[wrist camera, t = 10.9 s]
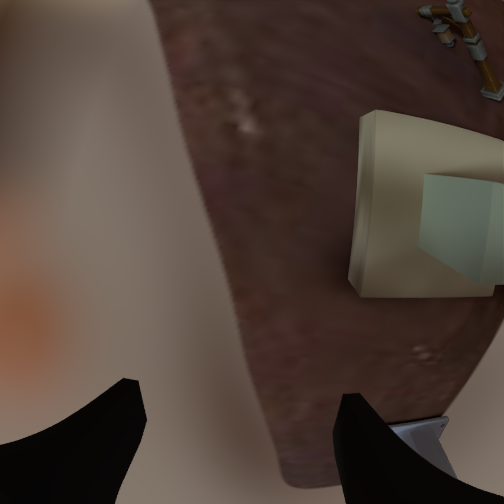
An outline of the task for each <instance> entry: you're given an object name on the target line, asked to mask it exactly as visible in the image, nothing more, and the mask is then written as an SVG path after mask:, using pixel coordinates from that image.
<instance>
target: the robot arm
mask: <svg viewBox="0 0 504 504" xmlns="http://www.w3.org/2000/svg"><path fill="white" fill-rule="evenodd" d="M448 421H449V418H448V417H447V416H443V417H438V418H433V419H427V420H422V421H416V422H410V423H403V424H396V425H387V424H386V423H385V422H384V420H383V419H382V418H381V417H380V416H379V415H378V414H377V413H376V411H375V410H374V409H373V408H372V407H371V406H370V405H369V403H368V402H367V401H366V400H365V399H364V398H363V396H362V395H361V394H360V393H352V394H343V396H342V400H341V404H340V407H339V411H338V415H337V418H336V422H335V425H334V429H333V432H332V433H333V443H334V453H335V459H336V463H337V467H338V472H339V476H340V480H341V484H342V488H343V493H344V497H345V502H346V504H504V497H503V496H500V495H496V494H493V493H490V492H487V491H484V490H481V489H478V488H476V487H473V486H471V485H469V484H466V483H464V482H462V481H460V480H458V479H457V477H456V474H455V472H454V470H453V468H452V466H451V464H450V462H449V460H448V458H447V456H446V454H445V452H444V450H443V448H442V446H441V444H440V442H439V440H438V439H439V438H440V436H441V434H442V432H443V430H444V428H445V427H446V425H447V423H448ZM146 422H147V417H146V413H145V409H144V404H143V400H142V395H141V391H140V386H139V381H137V380H132V379H126V378H123V379H121V380H120V381H118V382H117V383H116V384H114V385H113V386H112V387H110V388H109V389H108V390H106V391H105V392H104V393H102V394H101V395H100V396H98V397H97V398H96V399H94V400H93V401H91V402H90V403H89V404H87V405H86V406H84V407H83V408H81V409H80V410H78V411H77V412H75V413H73V414H72V415H70V416H69V417H67V418H66V419H64V420H62V421H61V422H59V423H57V424H55V425H53V426H51V427H49V428H47V429H45V430H43V431H41V432H38V433H36V434H33V435H31V436H28V437H25V438H23V439H20V440H17V441H14V442H10V443H6V444H2V445H0V504H115V501H116V498H117V495H118V492H119V489H120V487H121V484H122V482H123V480H124V478H125V475H126V473H127V471H128V469H129V467H130V464H131V462H132V460H133V458H134V456H135V453H136V451H137V449H138V447H139V444H140V442H141V439H142V436H143V432H144V429H145V425H146Z"/></svg>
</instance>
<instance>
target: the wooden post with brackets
mask: <svg viewBox="0 0 504 504" xmlns="http://www.w3.org/2000/svg"><path fill="white" fill-rule="evenodd" d="M447 1H448V3H447V4H446V6H434V5H426V6H422V7H421V6H419V7H418V8H417V9H416V12H417V13H418V15H419V16H426V17H432V19H433V21H434V23H433V24H436V25H435V26H436V28H435V29H434V30H433V32H436V33H437V34H438V36H439V38H440V41H441V42H442V43H446V45H447V46H448V47H453V46H454V42H453V40H454V39H455V37H454V36H453V35H452V33H451V32H450V30H449V29H448V27H449V26H450V25H444V24H442V23H440V22H441V21H442V20H438V19H437V18H436V16H439V17H442V18H444V19H446V20H448V21H449V22H451V23H453V24H454V25H456V26H458V27H459V28H460V29H461V30H462V33H463V35H464V37H463V40H464V42H467V45H466V46H467V48H468V49H469V51H470V53H471V56H472V59H475V61H476V63H477V65H478V68H479V71H480V74H481V78H482V81H483V85H484V87H483V88H482V90H481V91H480V92H481V93H482V95H483V96H484V97H488V98H492V99H496V100H499V101H500V100H501V99H502V97H503V95H504V82H501V81H500V80H499V78H498V77H497V75H496V73H495V71H494V69H493V67H492V66H491V64H490V62H489V60H488V58H487V54H488V53H487V52H486V50H485V47H484V45H483V42H482V40H480V39H479V38H480V35H479V33H476V31H475V29H474V27H473V24H472V22H471V20H470V17H471V15H472V12H471V11H470V9H469V7H466V6H465V4H464V2H463V0H447ZM434 16H435V17H434ZM450 16H453V18H452V17H450ZM433 17H434V18H433ZM435 19H437V20H435Z"/></svg>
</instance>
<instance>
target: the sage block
mask: <svg viewBox="0 0 504 504" xmlns="http://www.w3.org/2000/svg"><path fill="white" fill-rule="evenodd" d="M418 248H420V249H422V250H423V251H425V252H427V253H428V254H430V255H432V256H433V257H435V258H437V259H438V260H440V261H441V262H443V263H445V264H446V265H448V266H449V267H451V268H453V269H454V270H456V271H457V272H459V273H461V274H462V275H464V276H465V277H467V278H468V279H470V280H471V281H473V282H474V283H476V284H477V285H503V284H504V184H501V183H497V182H491V181H484V180H476V179H468V178H460V177H451V176H441V175H431V174H424V188H423V201H422V213H421V223H420V232H419V240H418Z"/></svg>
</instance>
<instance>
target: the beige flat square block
mask: <svg viewBox="0 0 504 504" xmlns="http://www.w3.org/2000/svg"><path fill="white" fill-rule="evenodd" d="M424 174H431V175H441V176H451V177H460V178H468V179H476V180H484V181H491V182H497V183H501V184H504V141H502V140H499V139H496V138H493V137H490V136H487V135H483V134H480V133H477V132H473V131H470V130H467V129H463V128H459V127H456V126H452V125H448V124H444V123H440V122H436V121H431V120H427V119H423V118H418V117H413V116H408V115H403V114H398V113H393V112H387V111H381V110H374V111H372V112H370V113H368V114H366V115H364V116H362V117H360V130H359V159H358V179H357V194H356V207H355V219H354V230H353V239H352V249H351V258H350V266H349V274H348V280H349V281H350V283H351V284H352V286H353V287H354V289H355V290H356V292H357V293H358V295H359V296H360V297H376V298H428V297H480V296H492V295H493V292H494V288H495V285H477V284H476V283H474V282H473V281H471V280H470V279H468V278H467V277H465V276H464V275H462V274H461V273H459V272H457V271H456V270H454V269H453V268H451V267H449V266H448V265H446V264H445V263H443V262H441V261H440V260H438V259H437V258H435V257H433V256H432V255H430V254H428V253H427V252H425V251H423V250H422V249H420V248H418V240H419V232H420V223H421V213H422V201H423V188H424Z"/></svg>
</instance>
